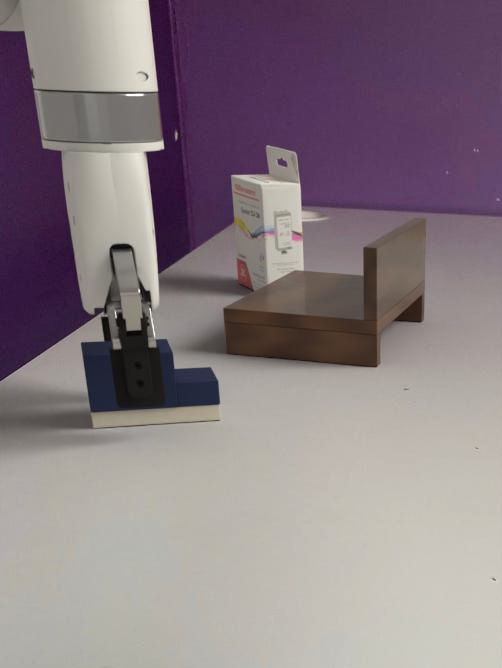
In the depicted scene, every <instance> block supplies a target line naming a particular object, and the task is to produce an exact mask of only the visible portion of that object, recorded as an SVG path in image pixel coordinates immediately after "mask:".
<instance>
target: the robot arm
mask: <svg viewBox="0 0 502 668" xmlns="http://www.w3.org/2000/svg"><path fill="white" fill-rule="evenodd" d="M149 3H150V2H149V0H0V31H1V32H24V36H25V43H26V49H27V56H28V63H29V69H30V75H31V81H32V82H31V83H32V88H33V89H34V90H33V93H34V100H35V107H36V113H37V119H38V125H39V132H40V137H41V144H42V145H41V146H42V148H43V149H45V150H47V149H48V150H50V151H51V150H52V151H59V152H61V166H62V167H61V168H62V178H63V186H64V196H65V203H66V211H67V217H68V223H69V229H70V237H71V243H72V249H73V254H74V263H75V268H76V275H77V282H78V287H79V293H80V300H81V303H82V308H83V310H84V311H85V312H86V313H88V314H89V315H95V314H96V312H95V309H102V312H103V316H100V320H101V322H100V323H101V329H102V333H103V339H104V340H103V341H112V344H113V347H112V348H109V352H110V359H111V366H112V374H113V381H114V388H115V395H116V401H117V405H118V406H119V407H120V408H137V407H151V406H162V405H164V404H165V402H166V398H165V390H164V381H163V373H162V364H161V356H160V348H159V345H156V339H157V338H156V333H155V326H154V321H153V314H152V313H153V312H154V311H156V310H157V309H158V308H159V306H160V286H159V285H160V284H159V267H158V265H159V264H158V251H157V241H156V230H155V220H154V219H155V218H154V209H153V199H152V193H151V182H150V174H149V167H148V166H149V165H148V156H147V152H156V151H161V150H162V151H163V150H165V143H164V135H163V123H162V114H161V113H162V112H161V104H160V95H159V93H158V92H159V87H158V79H157V69H156V67H157V66H156V60H155V58H156V57H155V50H154V41H153V32H152V31H153V30H152V21H151V12H150V4H149Z"/></svg>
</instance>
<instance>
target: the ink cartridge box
mask: <svg viewBox="0 0 502 668" xmlns="http://www.w3.org/2000/svg"><path fill="white" fill-rule="evenodd" d="M265 154H266V159H267V160H266V162H267V168H268V173H266V174H263V173H262V174H260V173H259V174H258V173H257V174H231V175H230V180H231V181H230V182H231V193H232V195H231V196H232V206H233V222H234V223H233V224H234V236H235V237H234V238H235V239H234V240H235V252H236V253H235V255H236V268H237V281H238V282H237V283H238V284H239V285H240V284H241V285H242V286H245V287H246V288H248V289H250V290H252V291H253V292H255V291H256V290H258V289H260V288H262V287H264V286H266V285H268V284H270V283H271V282H273V281H275V280H277V279H279V278H281V277H283V276H285V275H287V274H288V273H290V272H292V271H294V270H301V271H305V264H304V243H303V242H304V239H303V216H302V214H303V213H302V190H301V189H302V187H301V181H300V180H301V179H300V173H299V163H298V162H299V161H298V155H297V153H296V152H295V151H292V150H288V149H285V148H281V147H277V146H271V145H268V144H267V145H266V146H265ZM281 159H282V160H283V161H284V162H286V165H287V166H283V165H281V164H279V163H278V160H281Z"/></svg>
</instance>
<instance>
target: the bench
mask: <svg viewBox="0 0 502 668" xmlns="http://www.w3.org/2000/svg"><path fill="white" fill-rule="evenodd" d="M426 240H427V218H426V217H414V218H412V219H410V220H409V221H407V222H404V223H403V224H401V225H400V226H398V227H396V228H394V229H393V230H390V231H389V232H387V233H386V234H383V235H382V236H381V237H379V238H377V239H374V240H373V241H371V242H370V243H368V244H367V245H365V246H363V249H362V251H363V252H362V254H363V255H362V258H363V259H362V260H363V263H362V264H363V265H362V267H363V271H362V272H363V274H351V273H336V272H323V271H312V270H304V271H301V270H294V271H292V272H290V273H288V274H287V275H285V276H283V277H281V278H279V279H277V280H275V281H273V282H271V283H270V284H268V285H266V286H264V287H262V288H260V289H258V290H256V291H253V292H251V293H248V294H247V295H245V296H243V297H242V298H239V299H238V300H236V301H233V302H232V303H230V304H228V305H227V306H224V307H223V308H222V310H223V311H222V312H223V322H224V323H223V325H224V337H225V350H226V351H225V353H226V354H229V355H239V356H240V355H241V356H252V357H263V358H273V359H274V358H275V359H284V360H285V359H286V360H295V361H306V362H307V361H308V362H318V363H329V364H339V365H340V364H341V365H349V366H350V365H352V366H360V367H361V366H362V367H373V368H377V367H378V366H379V365H380V364H381V332H382V331H383V330H384V329H385V328H386V327H388V326H389V325H390V324H391V323H392V322H393V321H406V322H417V323H422V322H423V321H424V320H425V301H426V300H425V298H426V297H425V295H426V294H425V292H426V252H427V251H426V244H427V241H426Z"/></svg>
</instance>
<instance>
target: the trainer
mask: <svg viewBox="0 0 502 668" xmlns="http://www.w3.org/2000/svg"><path fill="white" fill-rule="evenodd" d="M156 345H159V348H160V356H161V364H162V373H163V381H164V390H165V398H166V402H165V404H164V405H162V406H151V407H137V408H120V407H119V406H118V405H117V401H116V395H115V388H114V381H113V374H112V366H111V359H110V352H109V348H112V347H113V344H112V341H104V340H102V341H101V340H100V341H99V340H98V341H81V342H80V347H81V354H82V361H83V368H84V375H85V383H86V390H87V398H88V402H89V404H88V405H89V412H90V417H91V418H90V419H91V424H92V428H93V429H102V428H114V427H115V428H118V427H130V426H131V427H133V426H146V425H147V426H149V425H164V424H178V423H179V424H180V423H192V422H193V423H196V422H208V421H209V422H211V421H221V420H222V411H221V399H220V397H221V396H220V384H219V379H218V377H217V376H216V374H215V372H214V371H213V369H212V367H211V366H204V367H203V366H202V367H186V368H175V361H174V360H175V358H174V352H173V349H172V347H171V345H170V342H169V340H168V339H167V338H156Z"/></svg>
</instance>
